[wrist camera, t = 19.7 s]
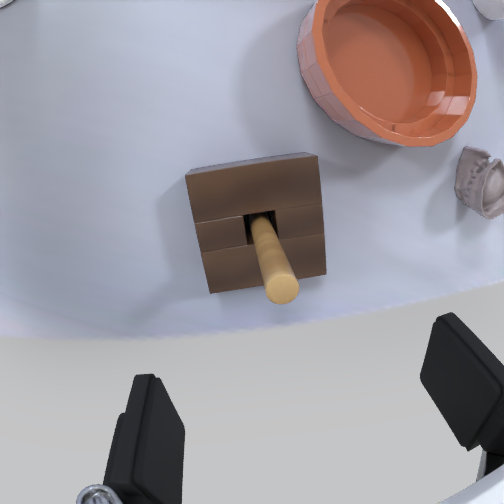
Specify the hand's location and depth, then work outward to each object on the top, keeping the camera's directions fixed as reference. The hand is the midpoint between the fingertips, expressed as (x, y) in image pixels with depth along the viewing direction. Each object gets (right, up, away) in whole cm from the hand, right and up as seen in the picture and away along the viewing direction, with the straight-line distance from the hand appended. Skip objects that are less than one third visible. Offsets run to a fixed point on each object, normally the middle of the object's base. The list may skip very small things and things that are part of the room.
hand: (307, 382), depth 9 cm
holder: (-1, +8, +20) cm, 21 cm away
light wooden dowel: (-1, +7, +20) cm, 21 cm away
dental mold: (+24, +13, +20) cm, 34 cm away
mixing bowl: (+10, +23, +15) cm, 29 cm away
